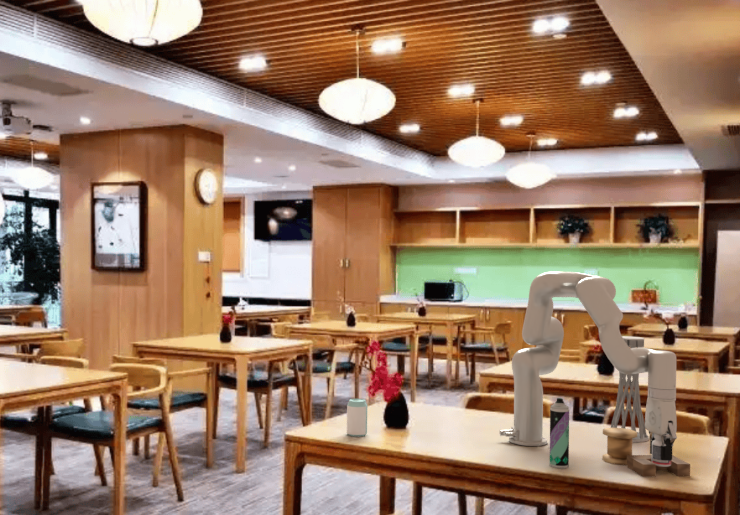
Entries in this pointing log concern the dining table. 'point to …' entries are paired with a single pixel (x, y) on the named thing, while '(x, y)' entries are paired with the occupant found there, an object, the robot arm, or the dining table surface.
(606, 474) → the dining table surface
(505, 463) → the dining table surface
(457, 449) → the dining table surface
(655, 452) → the pill bottle
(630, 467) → the notched board
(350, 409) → the can
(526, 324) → the robot arm
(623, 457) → the wooden spool
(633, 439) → the grey lattice tower
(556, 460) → the spray can
